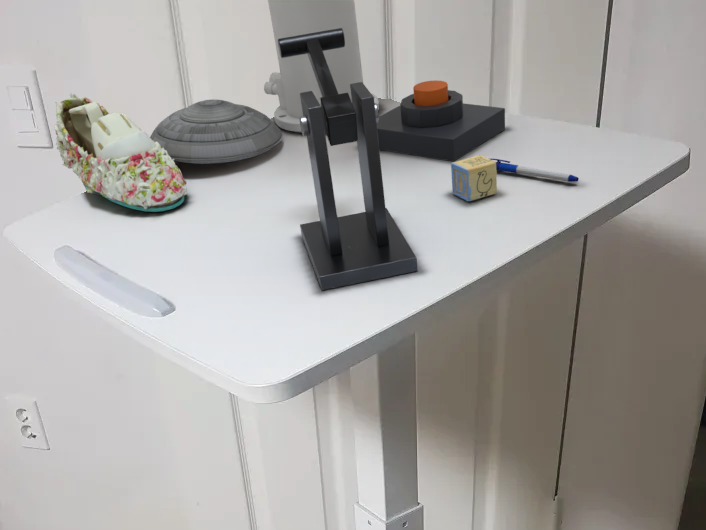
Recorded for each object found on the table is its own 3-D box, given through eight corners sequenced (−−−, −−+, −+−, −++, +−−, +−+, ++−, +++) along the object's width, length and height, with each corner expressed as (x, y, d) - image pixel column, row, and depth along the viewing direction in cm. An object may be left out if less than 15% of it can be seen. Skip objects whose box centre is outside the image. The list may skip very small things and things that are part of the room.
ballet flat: (130, 229, 82) (104, 146, 77) (36, 173, 97) (9, 101, 92) (212, 198, 86) (192, 117, 81) (109, 148, 101) (87, 78, 96)
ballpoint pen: (479, 169, 83) (479, 158, 82) (484, 166, 84) (484, 155, 83) (575, 184, 78) (576, 173, 77) (580, 181, 78) (581, 170, 78)
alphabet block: (451, 194, 80) (450, 161, 78) (479, 185, 81) (478, 152, 79) (469, 203, 78) (467, 170, 76) (497, 194, 78) (497, 161, 76)
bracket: (302, 237, 76) (275, 85, 68) (387, 220, 77) (371, 67, 68) (321, 290, 68) (294, 125, 59) (417, 271, 69) (404, 105, 60)
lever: (279, 57, 72) (275, 29, 70) (342, 46, 72) (340, 18, 70) (309, 150, 65) (306, 122, 63) (378, 137, 66) (377, 109, 64)
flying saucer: (145, 141, 100) (135, 90, 96) (270, 127, 103) (265, 78, 99) (156, 181, 88) (146, 125, 85) (296, 164, 92) (291, 110, 88)
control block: (362, 147, 92) (358, 108, 89) (415, 117, 98) (413, 80, 95) (454, 161, 86) (452, 120, 83) (505, 129, 91) (504, 89, 89)
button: (407, 106, 89) (406, 89, 88) (427, 96, 91) (426, 79, 90) (435, 110, 87) (434, 92, 86) (455, 99, 89) (454, 81, 88)
